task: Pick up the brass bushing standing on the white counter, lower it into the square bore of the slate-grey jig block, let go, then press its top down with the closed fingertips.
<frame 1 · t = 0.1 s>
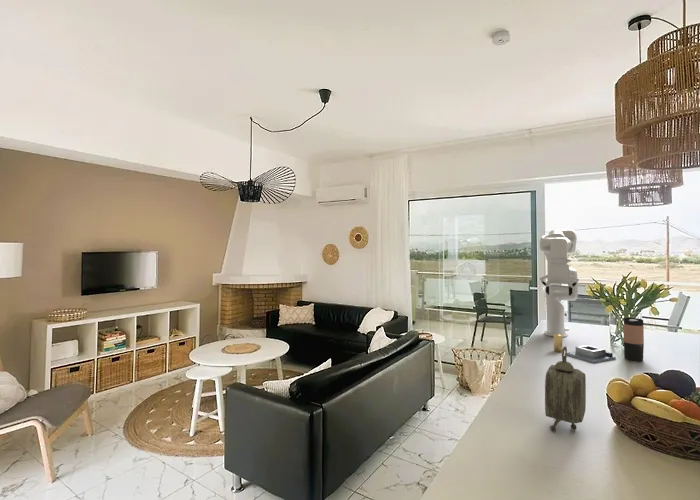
hand: (558, 294, 180), 31 cm above the table, tool pointing down, fingers open, 9 cm apart
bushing: (558, 351, 186), on the table
rustic cowbell: (566, 428, 108), on the table
jig: (590, 357, 176), on the table
travel mug: (633, 360, 171), on the table
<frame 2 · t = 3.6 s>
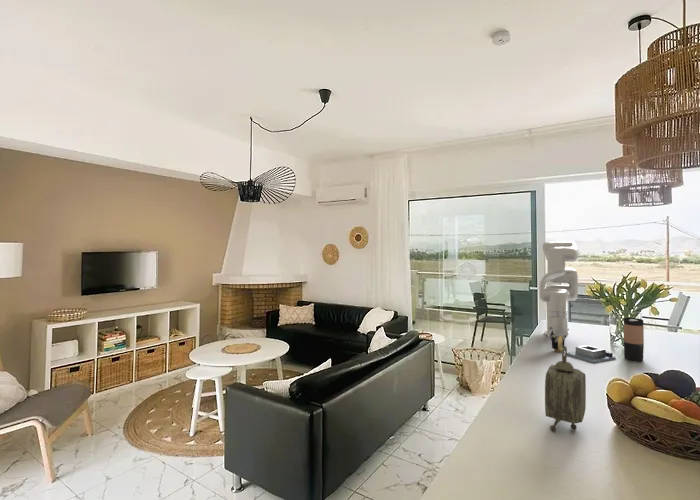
hand: (558, 348, 186), 2 cm above the table, tool pointing down, fingers closed on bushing, 4 cm apart
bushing: (558, 351, 186), on the table, touching gripper
everything else where it was.
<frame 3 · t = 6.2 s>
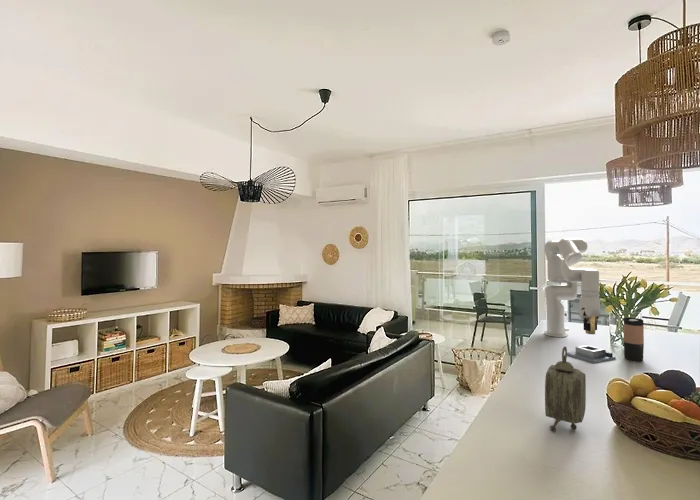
hand: (590, 329, 176), 14 cm above the table, tool pointing down, fingers closed on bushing, 4 cm apart
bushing: (590, 333, 176), point 12 cm above the table, touching gripper
everything else where it was.
when the fingers open (5 cm above the table, at t = 8.8 s): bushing drops 2 cm, resting on jig.
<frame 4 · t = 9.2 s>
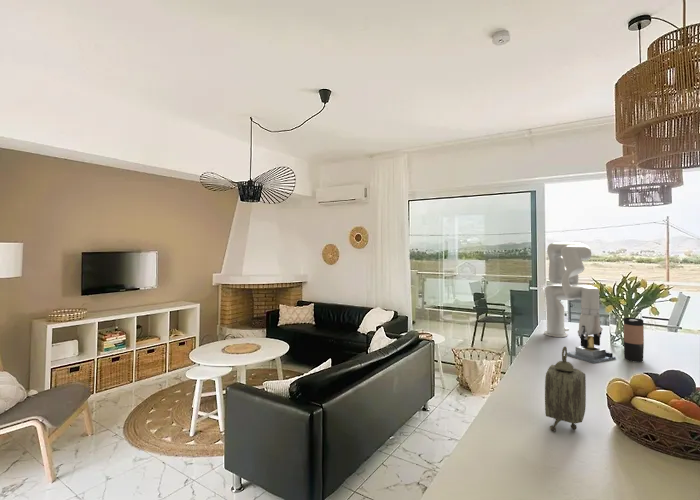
hand: (590, 345, 176), 6 cm above the table, tool pointing down, fingers open, 8 cm apart
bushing: (590, 354, 176), point 1 cm above the table, touching jig
everything else where it was.
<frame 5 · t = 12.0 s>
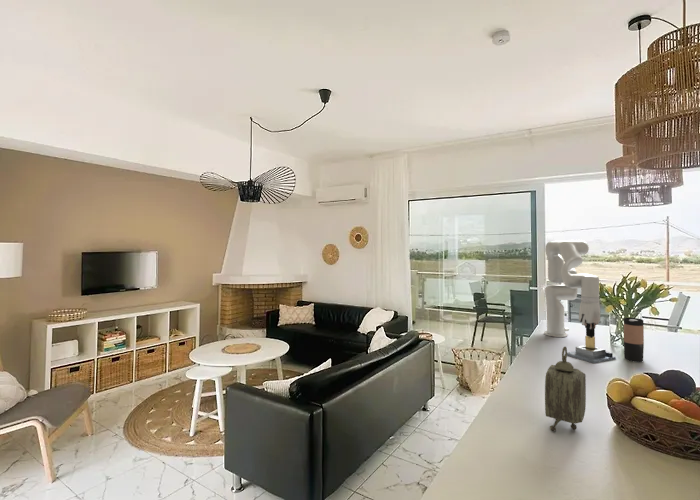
hand: (590, 336, 176), 11 cm above the table, tool pointing down, fingers closed
nothing on the table moved.
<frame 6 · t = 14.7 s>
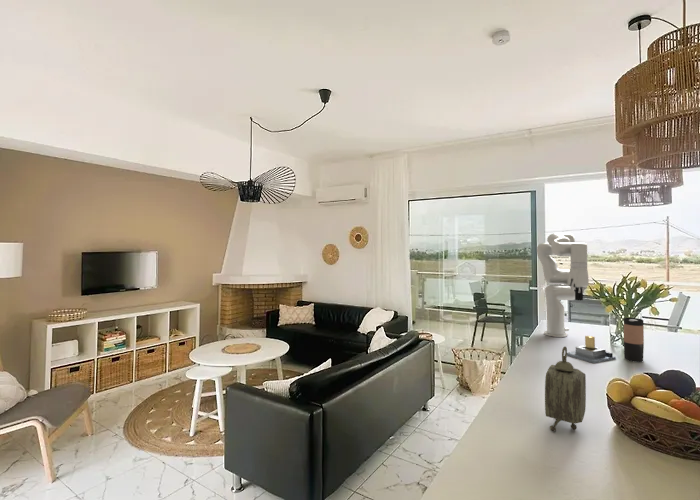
hand: (578, 300, 187), 27 cm above the table, tool pointing down, fingers closed
nothing on the table moved.
at the end: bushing 0.1 cm off-centre on the jig, point 1.2 cm above the jig's base; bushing tilted 1°; the gripper is holding nothing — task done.
